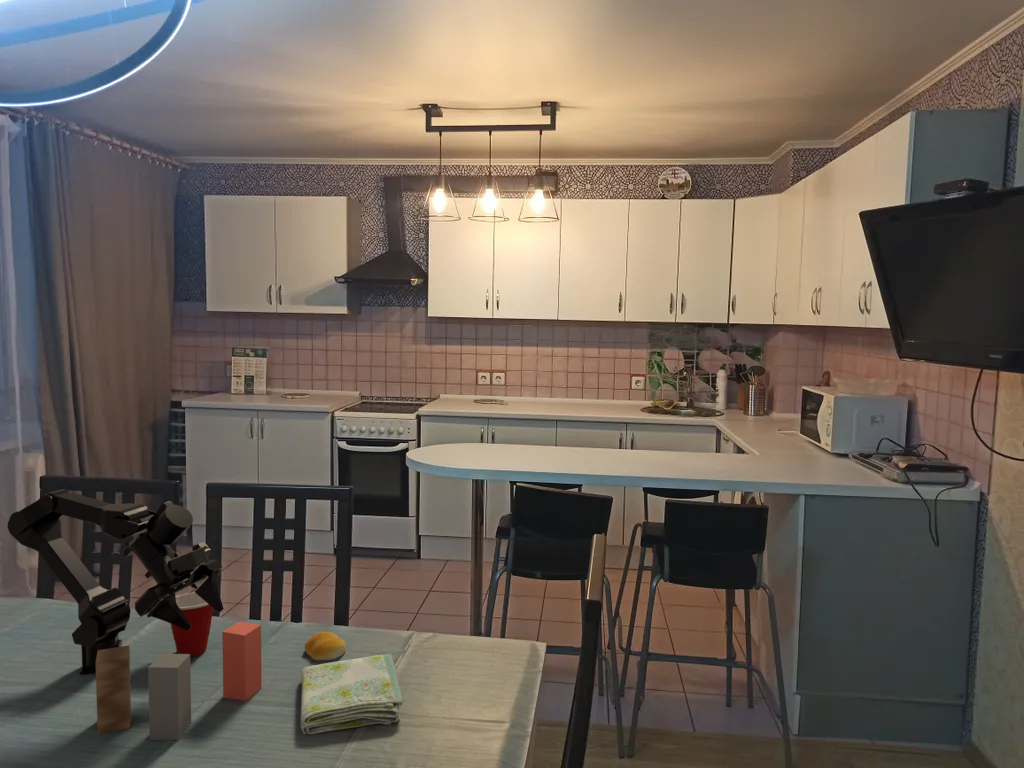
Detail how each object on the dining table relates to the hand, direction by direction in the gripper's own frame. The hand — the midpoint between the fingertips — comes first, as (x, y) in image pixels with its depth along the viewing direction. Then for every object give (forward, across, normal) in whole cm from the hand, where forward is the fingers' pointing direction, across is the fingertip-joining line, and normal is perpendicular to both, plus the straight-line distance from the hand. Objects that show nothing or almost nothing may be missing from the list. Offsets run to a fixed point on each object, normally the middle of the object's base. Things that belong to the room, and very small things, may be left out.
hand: (206, 619), depth 141 cm
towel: (+31, +4, -11) cm, 33 cm away
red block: (+15, 0, +4) cm, 16 cm away
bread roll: (+20, +20, 0) cm, 29 cm away
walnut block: (+5, -16, +14) cm, 22 cm away
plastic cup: (0, +12, +19) cm, 22 cm away
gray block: (+13, -15, +6) cm, 21 cm away
